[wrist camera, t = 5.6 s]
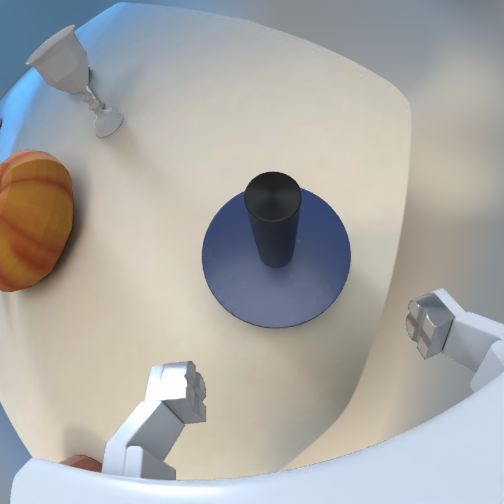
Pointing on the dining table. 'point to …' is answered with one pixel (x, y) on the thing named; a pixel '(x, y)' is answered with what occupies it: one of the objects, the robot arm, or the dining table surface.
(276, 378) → the dining table surface
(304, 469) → the robot arm
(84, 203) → the dining table surface
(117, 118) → the chalice
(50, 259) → the pumpkin
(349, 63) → the dining table surface
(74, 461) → the pot
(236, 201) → the lid
